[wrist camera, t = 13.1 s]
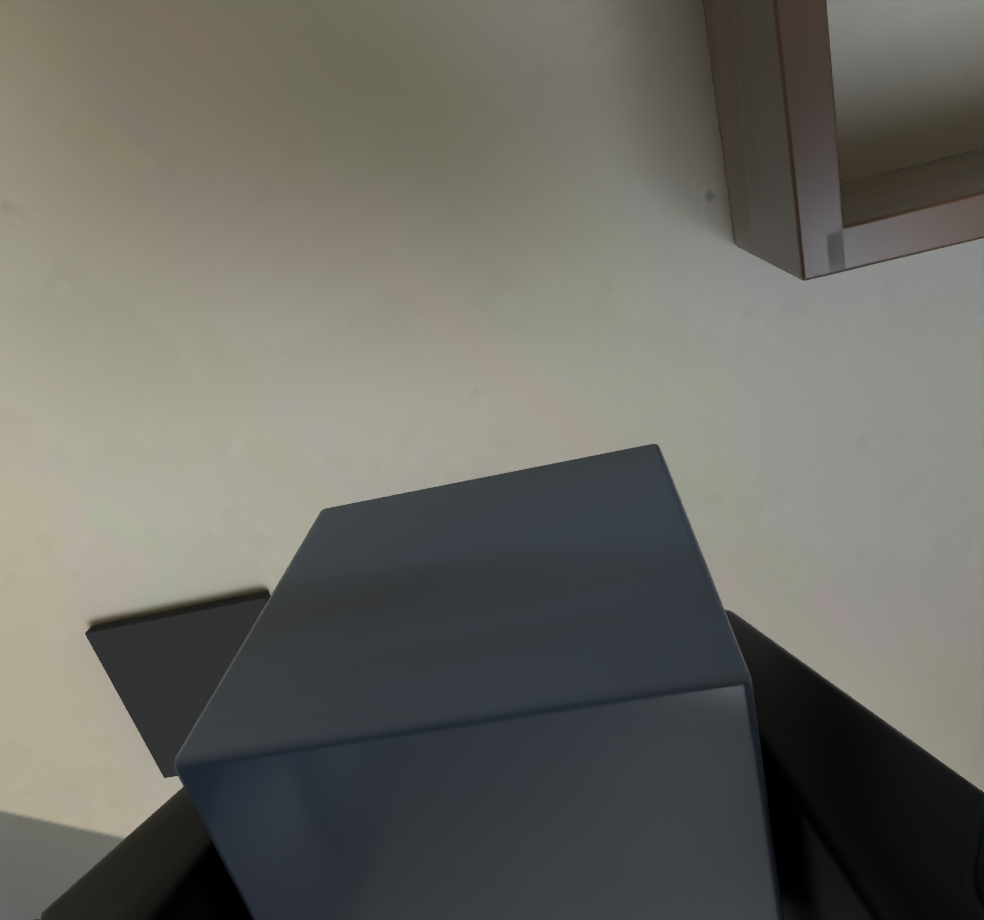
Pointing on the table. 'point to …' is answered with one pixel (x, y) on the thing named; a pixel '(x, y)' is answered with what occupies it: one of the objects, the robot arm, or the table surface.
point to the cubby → (817, 153)
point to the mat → (173, 665)
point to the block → (493, 714)
